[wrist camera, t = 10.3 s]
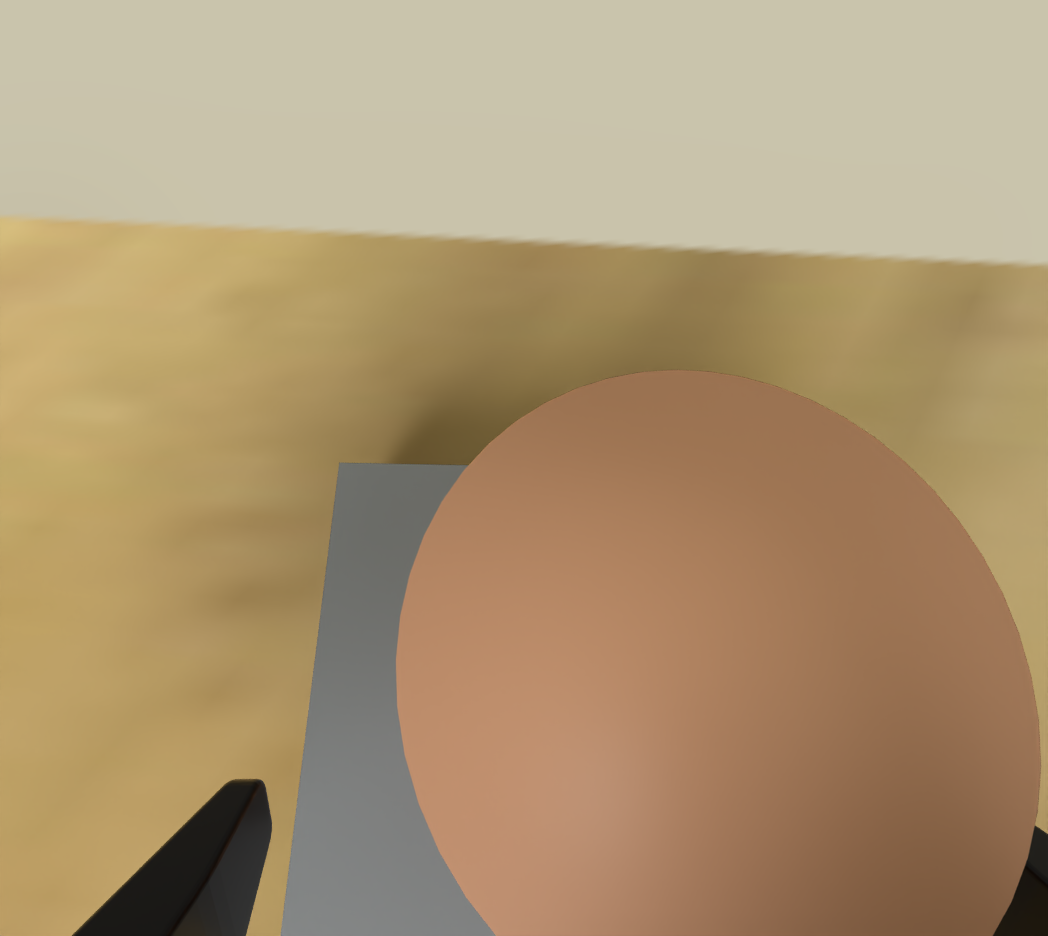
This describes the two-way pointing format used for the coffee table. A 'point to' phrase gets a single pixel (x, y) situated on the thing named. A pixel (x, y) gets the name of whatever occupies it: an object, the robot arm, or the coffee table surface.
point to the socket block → (368, 730)
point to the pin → (713, 677)
